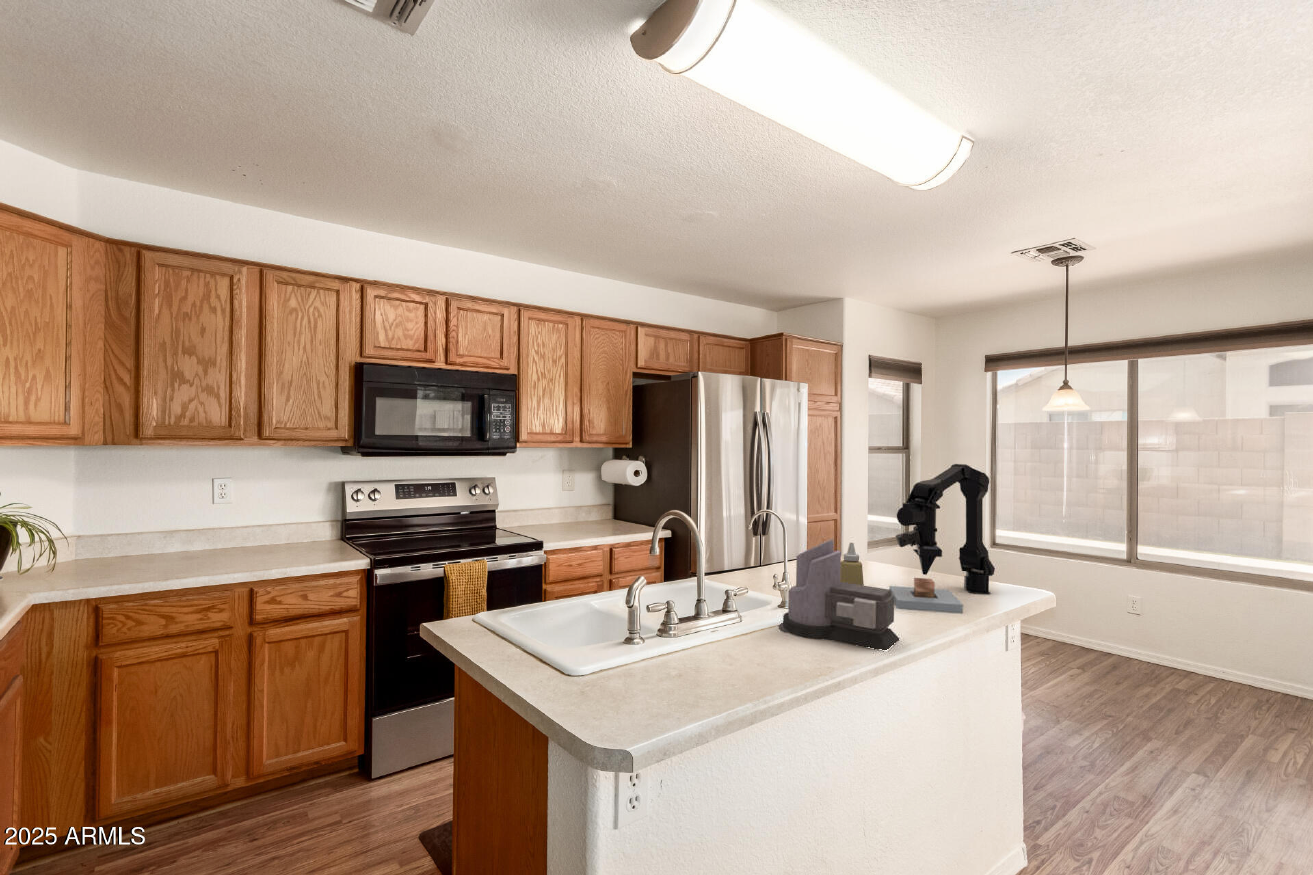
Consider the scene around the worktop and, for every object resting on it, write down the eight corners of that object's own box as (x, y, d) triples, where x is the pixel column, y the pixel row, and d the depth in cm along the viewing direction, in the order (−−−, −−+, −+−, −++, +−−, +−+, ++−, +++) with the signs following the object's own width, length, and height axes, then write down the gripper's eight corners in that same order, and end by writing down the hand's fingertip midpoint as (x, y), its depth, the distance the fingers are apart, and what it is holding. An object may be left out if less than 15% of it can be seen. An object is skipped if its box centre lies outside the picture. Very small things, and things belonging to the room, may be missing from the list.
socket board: (948, 597, 204) (949, 589, 204) (962, 613, 186) (962, 604, 186) (889, 593, 208) (889, 585, 208) (897, 608, 190) (897, 600, 190)
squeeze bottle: (846, 596, 204) (847, 539, 203) (869, 601, 197) (870, 543, 197) (831, 600, 199) (832, 542, 198) (854, 605, 192) (855, 546, 192)
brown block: (930, 598, 199) (931, 578, 199) (934, 602, 194) (934, 582, 194) (913, 596, 200) (914, 577, 200) (916, 600, 195) (917, 581, 195)
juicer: (768, 630, 168) (769, 537, 168) (792, 616, 181) (794, 530, 181) (885, 654, 151) (887, 551, 150) (902, 637, 164) (904, 542, 164)
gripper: (893, 518, 208) (892, 566, 208) (902, 527, 189) (901, 579, 190) (930, 520, 205) (929, 568, 205) (943, 528, 187) (941, 582, 187)
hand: (924, 574), depth 197 cm, fingers closed
